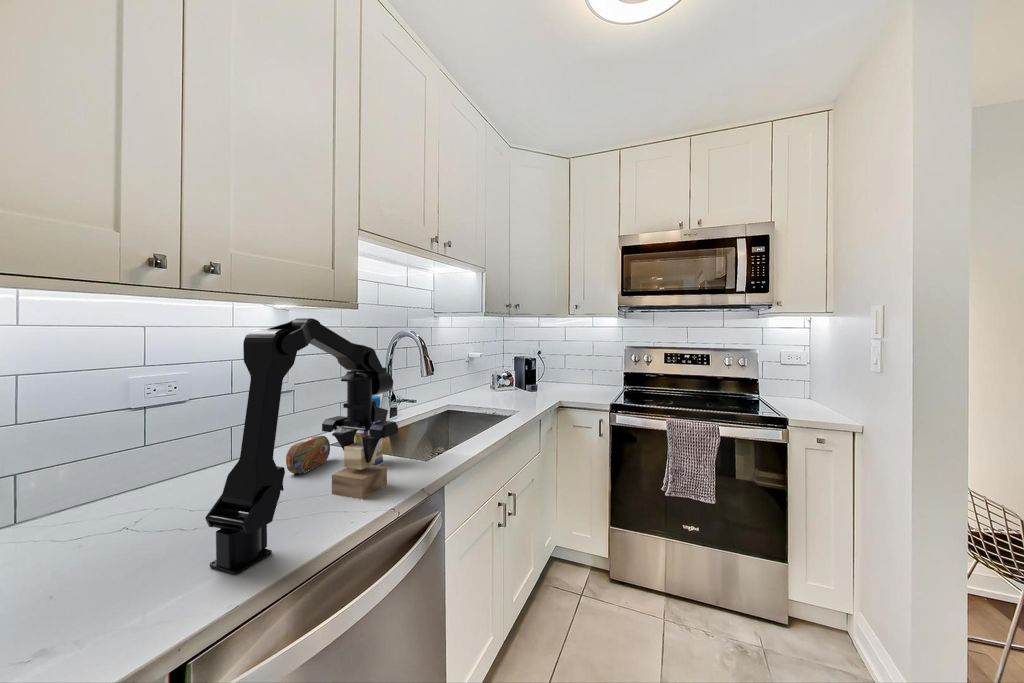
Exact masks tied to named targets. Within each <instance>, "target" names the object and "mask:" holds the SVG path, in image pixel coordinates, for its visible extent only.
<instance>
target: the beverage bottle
mask: <svg viewBox="0 0 1024 683" xmlns="http://www.w3.org/2000/svg"><path fill="white" fill-rule="evenodd" d="M372 401H375V402H376V407H379V408H381V396H380V395H372ZM378 422H381V421H377V422H372V424H375V423H378ZM362 427H364V426H362ZM365 436H368V431H361V430H357V432H356V434H355V436H354V443H356V442H358V441H360V442H363V441H362V437H365ZM383 439H384V438H381V439H380V440H379V442H378V444H377V446H376V448H375V463H374V464H372V465H378V466H382V465H383V463H384V456H383V455H384V453H383V447H384V446H383Z"/></svg>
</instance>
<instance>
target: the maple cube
mask: <svg viewBox="0 0 1024 683" xmlns="http://www.w3.org/2000/svg"><path fill="white" fill-rule="evenodd" d="M343 453H344V454H343V457H344V458H343V459H344V461H343V463H344V464H343V465H344V466H343V467H344V468H353V469H359V470H361V469H364V468H366V467H368V466H370V465H372V464H374V463H375V451H374V454H373V457H372V459H371V462H369V463H367V462H366V459H365V454H364V447H363V442H360V441H358V442H356V443H353V444H350V445H348V446H345V447H344V450H343Z"/></svg>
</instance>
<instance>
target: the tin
mask: <svg viewBox="0 0 1024 683" xmlns="http://www.w3.org/2000/svg"><path fill="white" fill-rule="evenodd" d="M330 451H331V443H330V440H329V439H328V437H326V436H325V435H316V436H311V437H309V438H307V439H304V440H302V441H299V442H296V443H294V444H293V445H292V446H290V448H289V449H288V450H287V453H286V455H285V459H286V460H285V463H286V468H287V470H288V471H289V473H291V474H297V473H298V474H299V475H303V474H302V473H304V472H306V471H308V470H310V469H312V468H314V467H316V466H318V467H319V465H320V466H321V464H322V465H323V464H324V463H326V461H327V460H328V458H329V456H330ZM316 468H317V467H316ZM314 469H315V468H314ZM312 470H313V469H312ZM310 471H311V470H310ZM308 472H309V471H308ZM306 473H307V472H306ZM304 474H305V473H304Z"/></svg>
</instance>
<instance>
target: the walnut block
mask: <svg viewBox="0 0 1024 683" xmlns="http://www.w3.org/2000/svg"><path fill="white" fill-rule="evenodd" d="M386 485H388V466H383V465H380V466H378V465H370V466H368V467H366V468H364V469H361V470H359V469H353V468H346V467H344V468H343V469H341V470H339V471H337V472H334V473H332V474H331V494H332V495H334V496H335V495H336V496H341V497H345V496H346V497H347V498H350V497H352V498H351V499H356V498H358V499H357V500H361V499H363V500H364V499H366V498H367V496H368V497H369V496H371V495H373V494H375V493H376V492H377V490H378V491H379V489H380V490H381V489H383V488H385V487H386ZM384 486H385V487H384ZM382 487H383V488H382ZM374 492H375V493H374ZM372 493H373V494H372ZM370 494H371V495H370ZM346 497H345V498H346ZM365 497H366V498H365Z"/></svg>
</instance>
